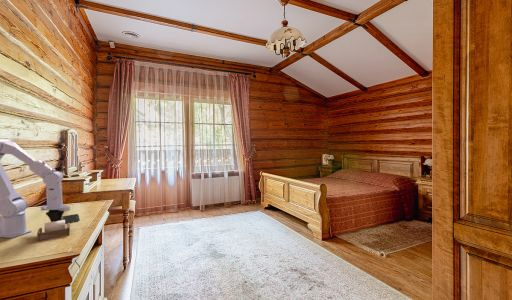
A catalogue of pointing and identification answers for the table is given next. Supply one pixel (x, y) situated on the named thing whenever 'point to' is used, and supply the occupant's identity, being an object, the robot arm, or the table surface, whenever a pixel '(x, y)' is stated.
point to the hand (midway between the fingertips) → (56, 225)
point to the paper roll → (54, 225)
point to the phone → (70, 218)
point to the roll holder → (53, 233)
